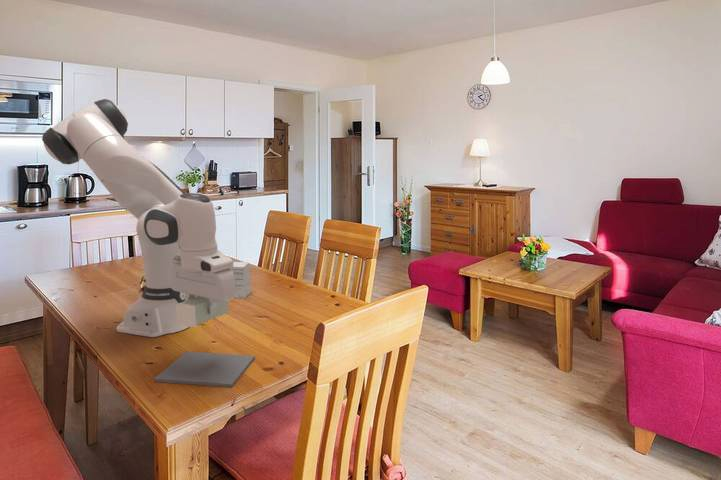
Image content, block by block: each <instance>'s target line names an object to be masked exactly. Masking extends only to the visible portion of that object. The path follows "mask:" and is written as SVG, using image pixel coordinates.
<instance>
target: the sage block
mask: <svg viewBox="0 0 721 480" xmlns="http://www.w3.org/2000/svg"><path fill="white" fill-rule="evenodd" d="M210 304H211V303H210V302H209V298H204V297H200V296H195V298H193V299H190V300H187V299H186V301H184V302H181V303H178V304H176V310H177V322H178V324H181V325H184V326H188V328H193V327H196V326H199V325H201V324H204V323H206V322H209V321H211V320H214V319H216V318H218V317H221V316H224V315H226V314H228V313H229V300H228V301H225V302H222V301H219V303H218V306H217V313H216V314H215V315H209V314H208V313H207V312H208V311H207V308H209V307H210Z"/></svg>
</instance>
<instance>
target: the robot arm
mask: <svg viewBox="0 0 721 480" xmlns="http://www.w3.org/2000/svg"><path fill="white" fill-rule="evenodd" d="M128 127H129V122H128V120H127V116H126V114H125V112H124V111H123V110H122V108H121V107H120V106H119V105H118V104H116V103H115V102H113V101H112V100H110V99H107V98H104V99H99V100H97V101H94V103H92V104H89V105H87V106H84V107H82V108H80V109H78V110H76V111H75V112H72V113H71V114H70V115H69V116H67V117H66V118H65V117H64V119H63V120H61V121H60V122H58V123H57V124H56V125H53V127H48V129H47V130H46V131H44V133H42V136H41V137H42V139H41V141H42V143H43V146H44V148H45V151H46V152H47V154H49V155H50V157H51V158H53V160H54V159H55V160H56V161H57V162H60V163H61V164H63V165H68V166H69V165H72V164H76V163H79V162H80V160H81V159H82V161H84V162H85V164H86V165H87V166H88V167H89V169H90V170H91V171H92V172H93V174H94V176H96V178H97V179H98V181H99V182H100V183H101V184H102V185H103V186H104V187H105V189H106V190H107V191H108V193H109V194H110V195H111V196H112V197H113V198H114V200H115V201H116V202H117V203H118V205H120V206H122V207H123V208H125V209H126V211H128V212H129V213H130V214H131V215H133V216H134V217H135V218H136V219H137V222H136V229H135V230H136V235H137V237H138V241H139V246H140V251H141V254H142V259H143V264H144V274H145V276H144V277H145V285H143V286H141V287H140V288H138V293H142V294H141V297H140V298H138V299H137V300H136V301H134V302H133V303H132V304H131V305H130V306H128V307H127V308H126V310H125V312H124V315H123V321H122V322H120V323H119V324H117V327H116V332H118V333H123V334H130V335H135V336H141V337H149V338H156V337H160V336H163V335H168V334H174V333H177V332H181V331H184V330H186V329H188V328H189V327H188V326H184V325H181V324H178V322H177V310H176V304H178V303H181V302H184V301H187V300H190V299H193V298H196V297H199V296H200V297H204V298H209V302H210V303H211V304H210V307H209V308H207V311H208V312H207V313H208V314H209V315H215V314H216V313H217V306H218V303H219V301H222V302H225V301H228V302H229V301H231V300H232V299H235V298H234V296H235V278H234V273H233V271H232V270H231V269H230V268H232V267H233V262H234V260H233V258H232V257H229V256H227V255H225V254H224V253H222V252H221V251H220V250H219V249H218V244H217V241H216V233H217V225H216V224H217V221H216V214H215V208H214V205H213V202H212V200H211V198H209V197H208V196H207V195H205V194H200V193H192V192H187V193H186V192H185V191H184V190H183V189H182V188H181V187H180V186H178V185H177V183H175V181H173V180H172V178H170V177H169V176H168V175H167V174H166V173H165V172H164V171H162V170H161V169H160V168H159V166H157V165H155V164H154V163H153V162H152V161H150V160H148V159H147V158H145V157H144V156H143V155H141V153H140V152H138V150H135V149H134V148H133V147H132V145H131V144H129V143H128V142H127V140H126V139H125V137H124V136H125V135H126V133H127V131H128Z"/></svg>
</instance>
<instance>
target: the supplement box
mask: <svg viewBox="0 0 721 480" xmlns="http://www.w3.org/2000/svg"><path fill="white" fill-rule="evenodd" d="M250 267H251V266H250V262H247V261H233V267H232V268H230V269H231V270H232V271H233V273H234V278H235V296H234V298H233V299H246V298H247V297H248V296H249V295H250V294H251V293H252V291H251V290H252V288H251V268H250Z"/></svg>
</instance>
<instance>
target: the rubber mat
mask: <svg viewBox="0 0 721 480" xmlns="http://www.w3.org/2000/svg"><path fill="white" fill-rule="evenodd" d="M255 359H256V356H255V355H245V354H231V353H217V352H201V351H200V352H198V351H185V352H184V353H183V354H182V355H180V356H179V357H178V358H176V359H175V360H174V361H172V363H171V364H169V366H167V367H166V368H165V369H164V370H163V371H162V372H161V373H158V375H157V376H156V377H154V382H155V383H167V384H181V385H182V384H184V385H195V386H196V385H197V386H212V387H224V388H233V387H234V386H235V384H236V382H237V381H239V379H240V378H241V377H242V375H243V374H244V373H245V371H247V369H248V368H249V367H250V365H251V364H252V363H253V362H254V361H255Z"/></svg>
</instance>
